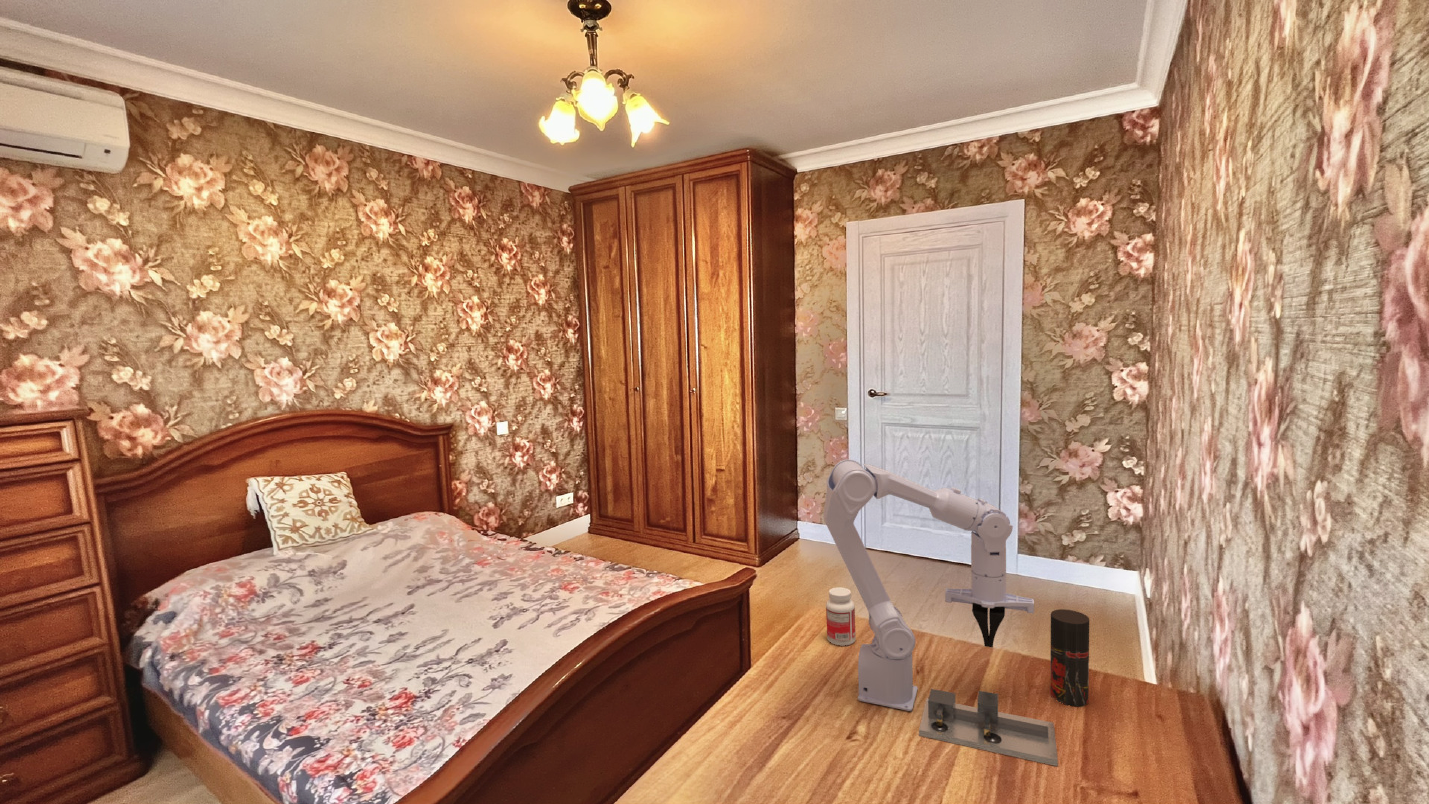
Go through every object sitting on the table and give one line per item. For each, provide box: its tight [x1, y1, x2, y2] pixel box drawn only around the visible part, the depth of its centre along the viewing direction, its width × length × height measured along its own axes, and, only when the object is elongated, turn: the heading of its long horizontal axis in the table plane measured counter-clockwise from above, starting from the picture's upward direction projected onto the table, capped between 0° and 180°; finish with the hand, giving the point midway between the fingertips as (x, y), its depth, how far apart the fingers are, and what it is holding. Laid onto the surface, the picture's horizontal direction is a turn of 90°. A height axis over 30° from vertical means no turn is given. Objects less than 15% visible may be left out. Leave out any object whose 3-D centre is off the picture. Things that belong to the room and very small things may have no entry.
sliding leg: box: [976, 690, 999, 736], centre depth 102 cm, size 3×6×4 cm, turn 154°
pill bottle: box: [825, 586, 857, 647], centre depth 135 cm, size 6×6×11 cm
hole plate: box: [918, 697, 1059, 767], centre depth 102 cm, size 20×10×1 cm, turn 64°
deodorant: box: [1049, 608, 1090, 708], centre depth 110 cm, size 6×6×15 cm
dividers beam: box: [928, 688, 1048, 738], centre depth 102 cm, size 18×6×3 cm, turn 64°
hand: (988, 644), depth 112 cm, fingers closed
